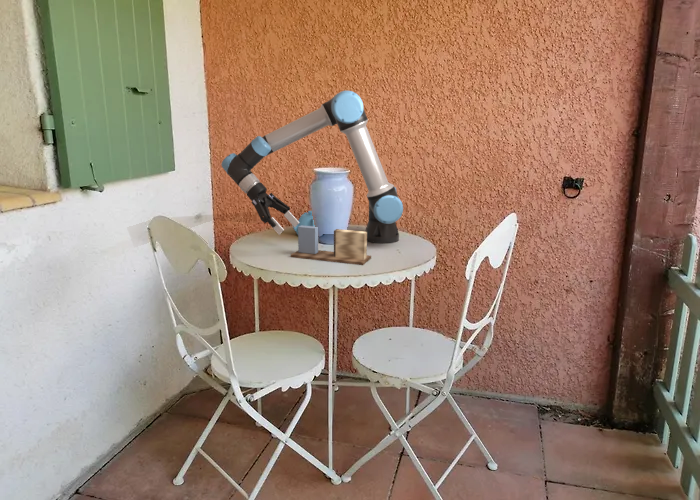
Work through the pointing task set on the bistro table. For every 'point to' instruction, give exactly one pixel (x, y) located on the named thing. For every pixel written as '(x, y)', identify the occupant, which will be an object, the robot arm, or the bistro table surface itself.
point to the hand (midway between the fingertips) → (289, 228)
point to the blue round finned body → (305, 220)
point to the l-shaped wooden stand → (343, 249)
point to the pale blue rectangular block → (308, 239)
